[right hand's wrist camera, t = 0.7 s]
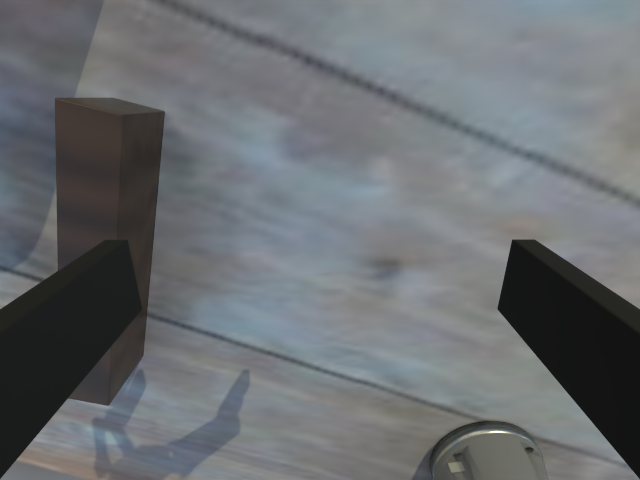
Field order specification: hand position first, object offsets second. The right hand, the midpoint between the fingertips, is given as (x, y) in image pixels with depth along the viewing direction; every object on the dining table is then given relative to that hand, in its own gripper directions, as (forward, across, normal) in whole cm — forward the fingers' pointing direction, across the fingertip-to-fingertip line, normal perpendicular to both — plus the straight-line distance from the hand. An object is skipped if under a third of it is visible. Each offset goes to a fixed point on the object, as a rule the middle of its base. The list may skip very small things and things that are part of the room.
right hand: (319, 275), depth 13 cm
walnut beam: (+26, +21, +9) cm, 34 cm away
